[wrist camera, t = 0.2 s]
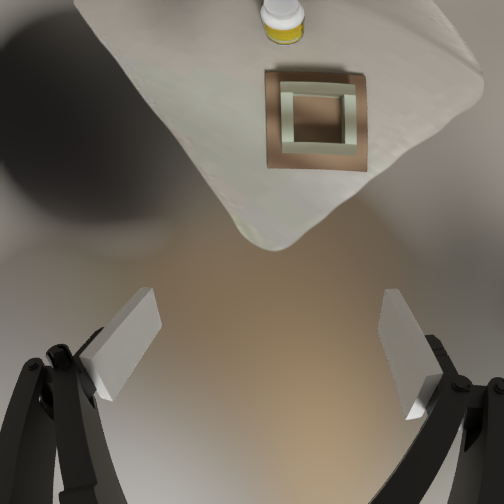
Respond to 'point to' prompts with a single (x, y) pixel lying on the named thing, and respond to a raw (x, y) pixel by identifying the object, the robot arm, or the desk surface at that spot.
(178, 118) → the desk surface
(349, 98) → the socket board
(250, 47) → the desk surface
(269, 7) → the supplement bottle
